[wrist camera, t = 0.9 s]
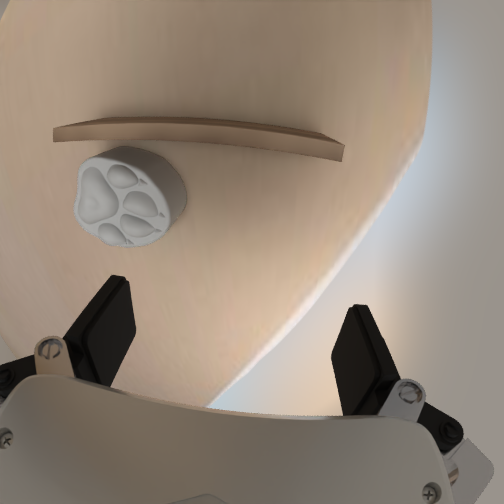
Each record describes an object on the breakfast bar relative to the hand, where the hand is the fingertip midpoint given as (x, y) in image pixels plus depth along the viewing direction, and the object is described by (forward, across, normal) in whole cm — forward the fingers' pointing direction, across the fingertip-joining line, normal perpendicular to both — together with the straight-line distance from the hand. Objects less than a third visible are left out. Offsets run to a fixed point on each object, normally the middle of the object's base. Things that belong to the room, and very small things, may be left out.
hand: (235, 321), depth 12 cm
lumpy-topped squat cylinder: (+27, +15, +2) cm, 31 cm away
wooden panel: (+26, +7, -7) cm, 28 cm away
